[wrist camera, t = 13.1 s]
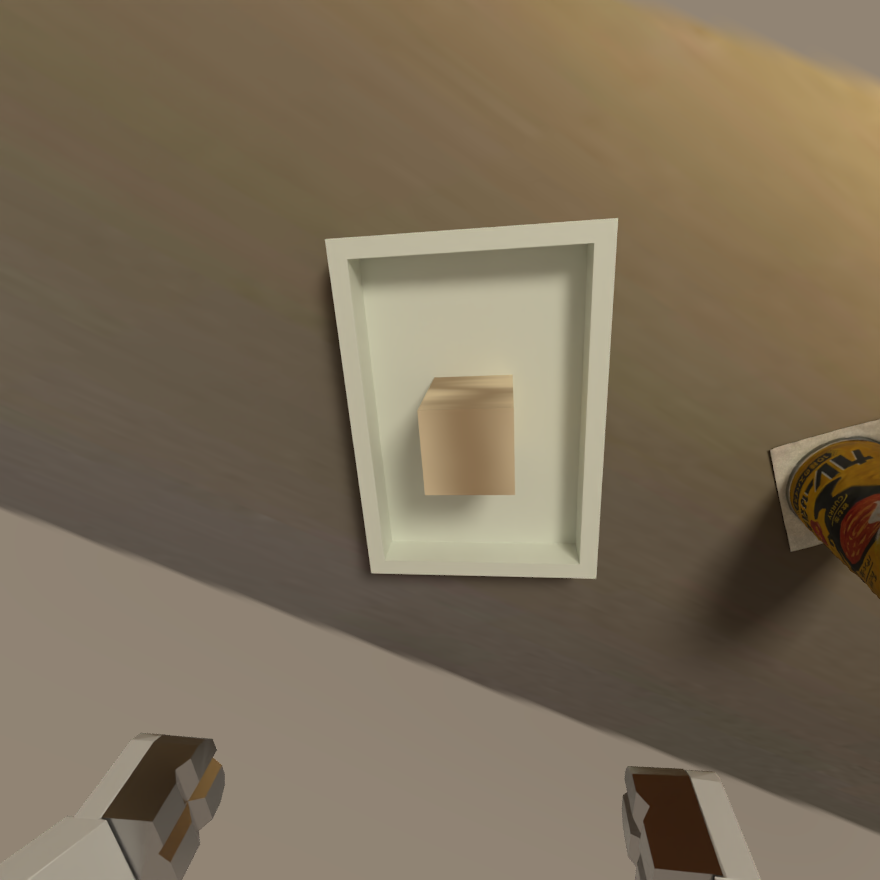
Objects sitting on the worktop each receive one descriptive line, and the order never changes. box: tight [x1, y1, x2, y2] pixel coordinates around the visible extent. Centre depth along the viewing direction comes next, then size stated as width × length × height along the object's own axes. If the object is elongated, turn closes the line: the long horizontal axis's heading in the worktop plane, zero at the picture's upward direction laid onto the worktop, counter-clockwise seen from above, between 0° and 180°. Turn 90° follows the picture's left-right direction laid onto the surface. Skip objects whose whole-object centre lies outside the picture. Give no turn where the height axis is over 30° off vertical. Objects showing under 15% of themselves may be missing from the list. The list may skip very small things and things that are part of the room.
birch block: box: [417, 375, 515, 495], centre depth 27 cm, size 4×4×6 cm
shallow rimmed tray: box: [325, 218, 618, 579], centre depth 29 cm, size 14×20×3 cm
